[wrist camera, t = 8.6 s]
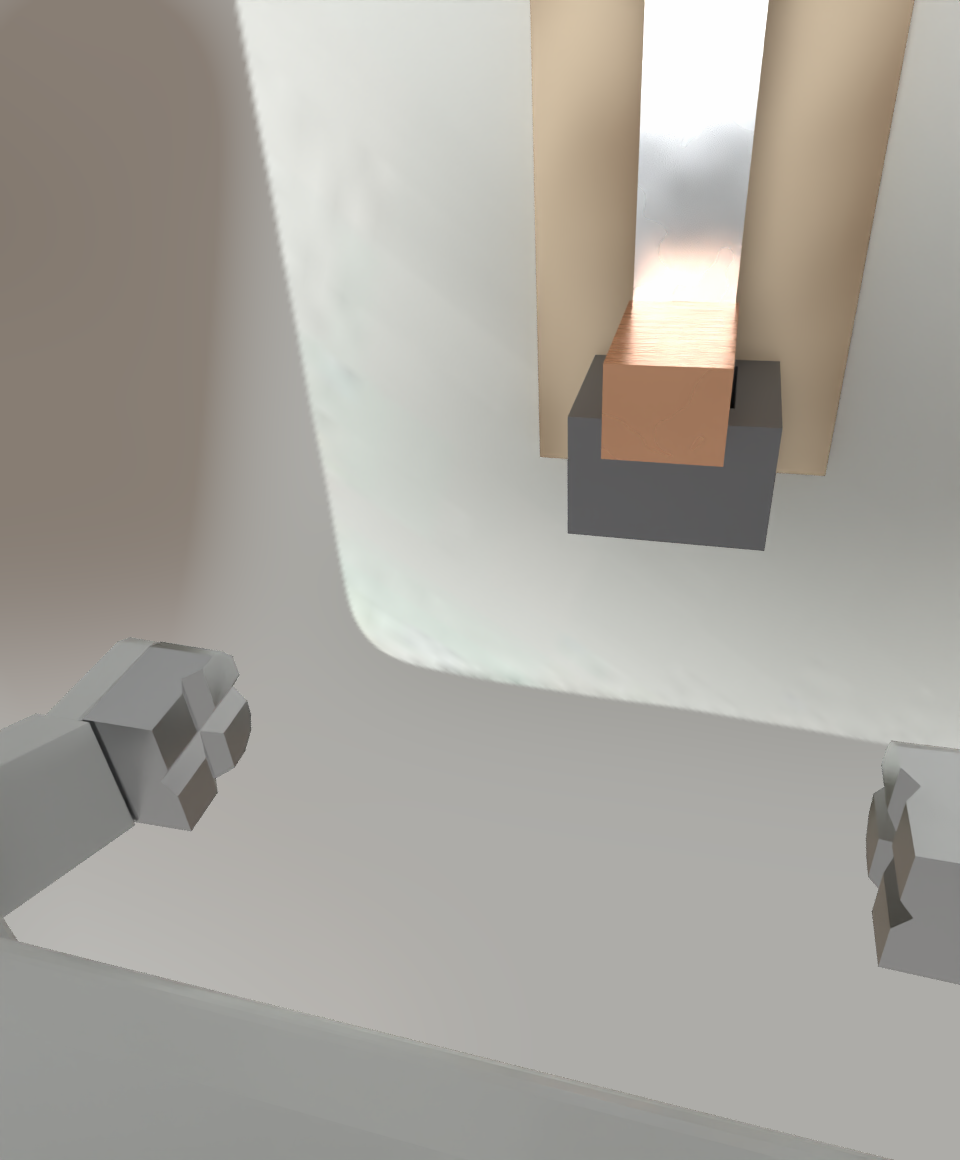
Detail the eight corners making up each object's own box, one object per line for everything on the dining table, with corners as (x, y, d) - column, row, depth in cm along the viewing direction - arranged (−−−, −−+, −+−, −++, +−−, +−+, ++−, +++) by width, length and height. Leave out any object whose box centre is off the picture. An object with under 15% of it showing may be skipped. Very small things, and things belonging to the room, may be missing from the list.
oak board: (1027, -643, 17) (1041, -673, 16) (823, 463, 30) (825, 475, 30) (528, -530, 19) (518, -550, 18) (545, 445, 33) (540, 457, 32)
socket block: (779, 361, 28) (782, 428, 24) (764, 472, 30) (763, 550, 26) (595, 354, 29) (567, 416, 25) (593, 460, 32) (567, 533, 27)
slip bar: (786, -136, 20) (795, -182, 14) (722, 447, 29) (711, 575, 23) (658, -123, 21) (614, -161, 15) (633, 441, 30) (598, 563, 24)
